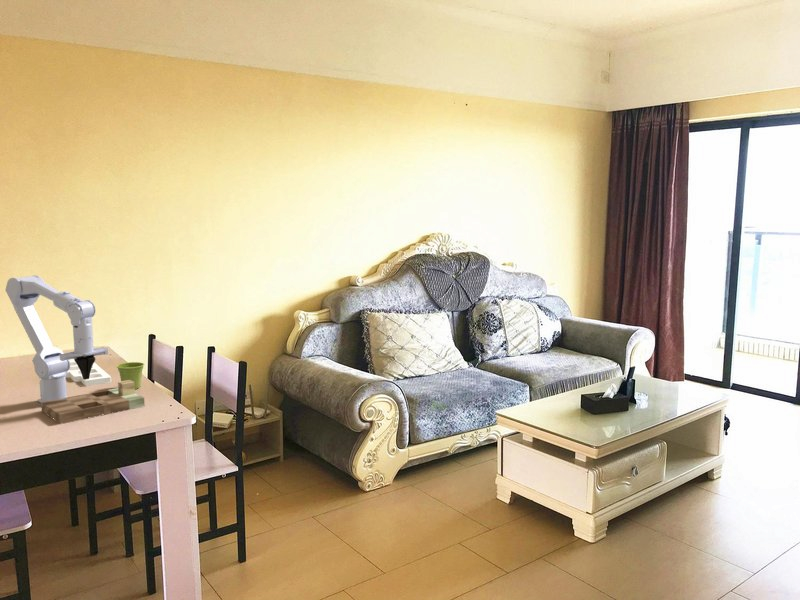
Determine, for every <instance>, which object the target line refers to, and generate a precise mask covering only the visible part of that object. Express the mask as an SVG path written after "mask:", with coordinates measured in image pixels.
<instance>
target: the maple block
mask: <svg viewBox="0 0 800 600" xmlns="http://www.w3.org/2000/svg"><path fill="white" fill-rule="evenodd" d="M117 388H118V392H119V394H120V395H122V396H125V395H130V394H135V393H136V389H135V384H134V382H133V381H131V380H126V381H121V380H120V381H117Z"/></svg>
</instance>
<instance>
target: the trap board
mask: <svg viewBox="0 0 800 600" xmlns="http://www.w3.org/2000/svg"><path fill="white" fill-rule="evenodd" d="M40 404H41V406H40V407H41V412H42V411H43V412H42V413H44V412H45V413H46V414H45V413H44V414H45V415H47V414H48V415H49V416H50V417H49V416H48V415H47V416H48V417H49V418H51V417H52V418H54V419H55V420H56V421H55V420H54V419H53V420H54V421H55V422H57V421H58V422H59V424H60V423H63V424H66V423H65V422H67V423H70V421H72V422H75V421H74V420H77V421H80V420H79V419H82V420H85V419H84V418H86V419H89V418H88V417H91V418H95V417H94V416H96V417H99V415H101V416H103V415H102V414H105V415H109V414H108V413H110V414H113V413H112V412H115V413H118V411H120V412H123V410H125V411H128V409H129V410H134V409H138V408H137V407H139V408H143V407H142V406H144V407H145V406H146V405H145V396H142V395H139V394H138V393H136V392H135V394H130V395H125V396H122V395H120V394H119V392H118V387H115V388H112V389H106V390H100V391H95V392H89V393H84V394H80V395H79V394H77V395H73V396H69V397H68V396H67V398H62V399H56V400H51V401H45V402H41V403H40ZM133 408H134V409H133ZM52 418H51V419H52ZM58 422H57V423H58Z"/></svg>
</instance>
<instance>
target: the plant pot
mask: <svg viewBox="0 0 800 600" xmlns="http://www.w3.org/2000/svg"><path fill="white" fill-rule="evenodd" d="M144 366H145V363H144V362H138V361H131V362H123V363H122V362H121V363H120V364H117V365H116V368H117V369H118V372H119V376H120V382H121V381H126V380H131V381H133V382H134V384H135V390H138V389H140V388H141V387H142V385H141V384H142V376H143V375H142V374H143V369H144ZM137 388H138V389H137Z"/></svg>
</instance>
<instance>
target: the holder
mask: <svg viewBox="0 0 800 600" xmlns="http://www.w3.org/2000/svg"><path fill="white" fill-rule="evenodd" d="M69 360H70V369H69V370H68V371H67V375H65V377H66V379H68V378H69V379H71V380H72V381H73V383H78V382H80V383H82V384H83V385H84V387H91V386H98V385H104V384H105V383H106V384H111V383H112V376H111V375H110V374H109V373H107V372H106V371H105V370H104V369H103V368H102V367H100V366H99V365H98V364H97V363H96V362H94V363H93V366H92V368H91V372H90V376H89V379H86V380H84V379H83V377H82V374H81V371H80V369H79V367H78V365H77V363H76V362H75V360H74V359H69Z"/></svg>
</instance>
